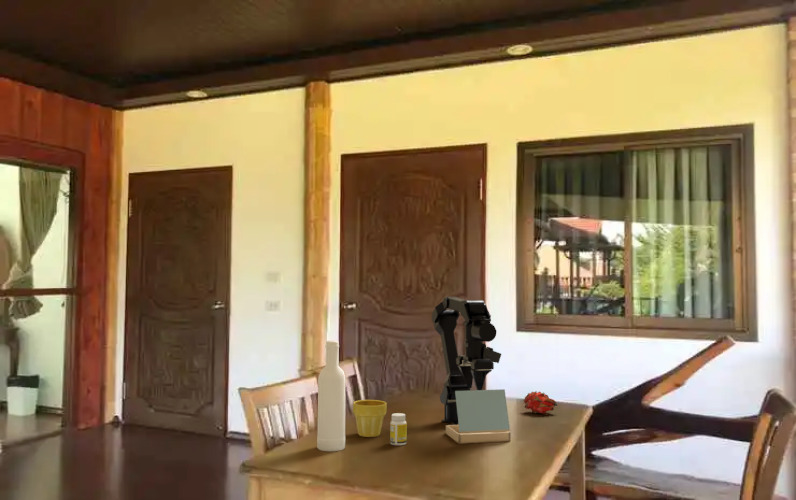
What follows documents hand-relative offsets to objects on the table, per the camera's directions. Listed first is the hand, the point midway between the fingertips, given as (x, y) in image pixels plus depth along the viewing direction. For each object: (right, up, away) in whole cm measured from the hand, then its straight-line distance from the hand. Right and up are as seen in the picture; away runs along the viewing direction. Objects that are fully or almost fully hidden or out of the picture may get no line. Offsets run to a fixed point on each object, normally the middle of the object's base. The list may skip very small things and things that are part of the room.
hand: (474, 390), depth 206 cm
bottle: (-43, -12, -21) cm, 49 cm away
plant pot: (-33, -13, -4) cm, 35 cm away
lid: (+1, -4, -11) cm, 11 cm away
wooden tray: (0, -13, -7) cm, 15 cm away
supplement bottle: (-24, -13, -15) cm, 31 cm away
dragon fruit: (+27, -15, +30) cm, 43 cm away
